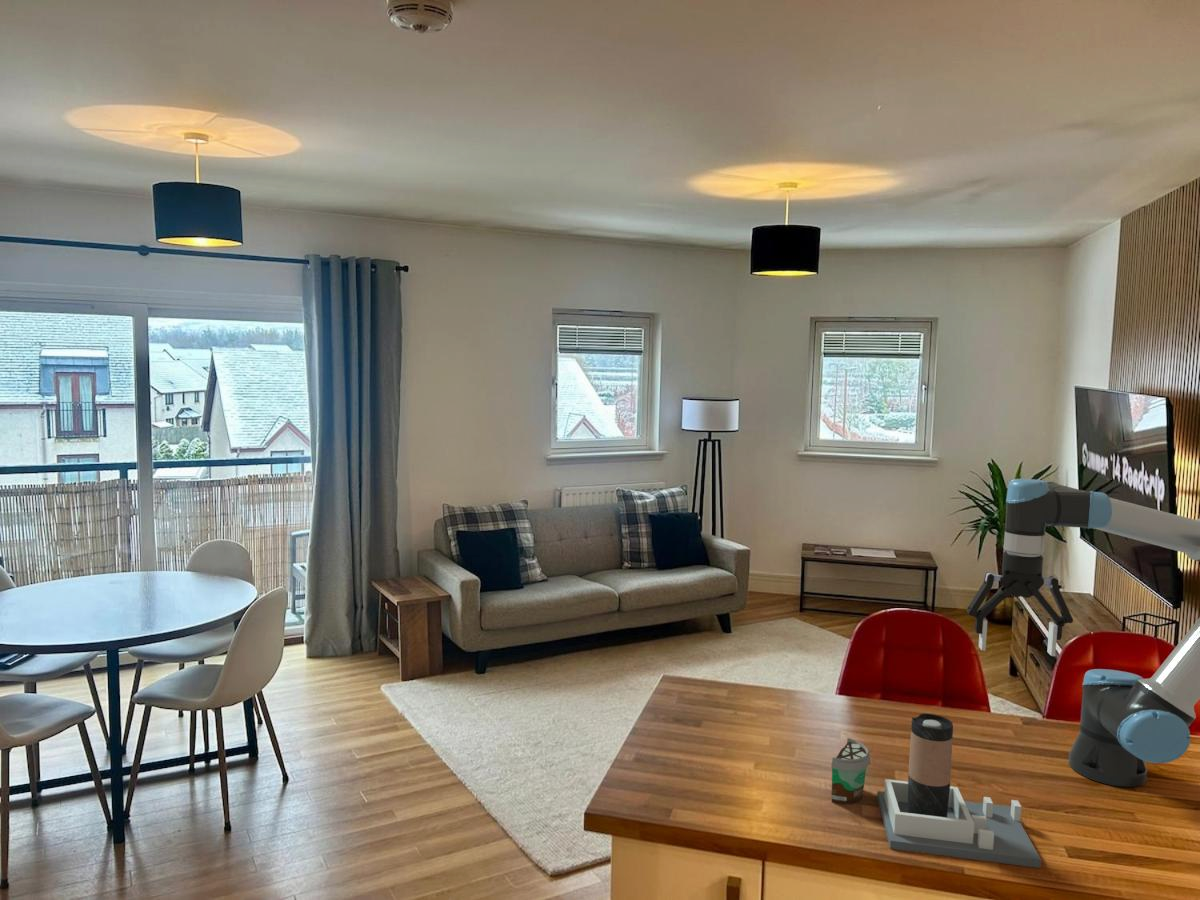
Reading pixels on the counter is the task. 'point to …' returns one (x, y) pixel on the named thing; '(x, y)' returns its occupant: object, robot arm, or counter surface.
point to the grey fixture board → (1007, 837)
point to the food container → (849, 773)
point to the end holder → (928, 816)
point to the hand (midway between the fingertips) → (1016, 651)
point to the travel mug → (930, 765)
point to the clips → (980, 822)
